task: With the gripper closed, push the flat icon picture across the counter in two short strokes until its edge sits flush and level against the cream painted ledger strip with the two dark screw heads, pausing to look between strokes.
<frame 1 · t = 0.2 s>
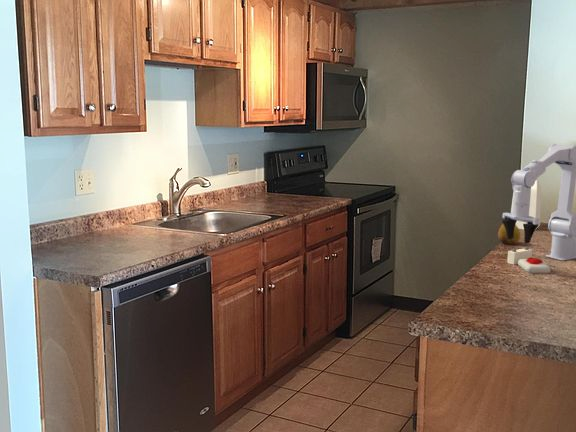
hand: (518, 240, 232), 10 cm above the counter, tool pointing down, fingers open, 7 cm apart
ledger strip: (519, 262, 242), on the counter
milk: (524, 227, 310), on the counter
icon: (535, 270, 232), on the counter
fruit: (508, 243, 274), on the counter
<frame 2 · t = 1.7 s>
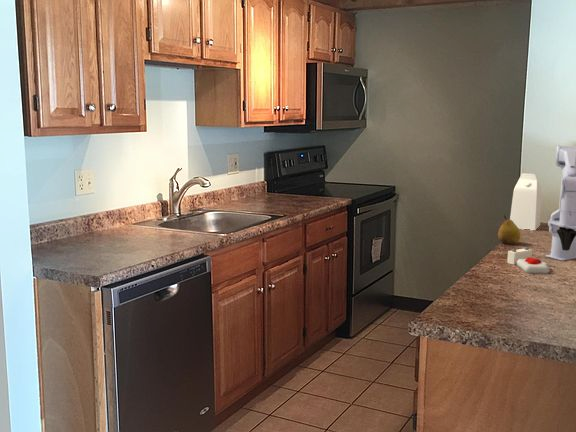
hand: (565, 249, 222), 9 cm above the counter, tool pointing down, fingers closed
nothing on the counter moved.
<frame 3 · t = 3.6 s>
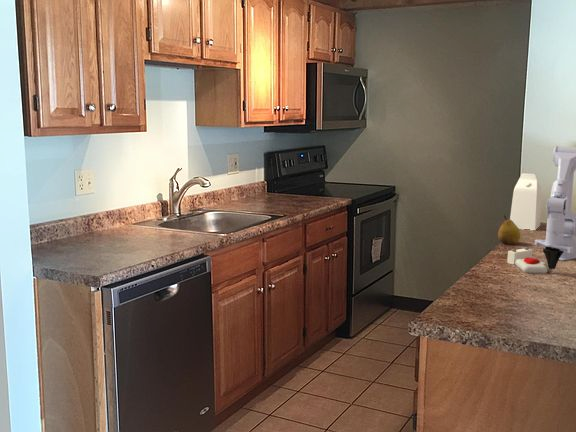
hand: (551, 268, 228), 1 cm above the counter, tool pointing down, fingers closed
nothing on the counter moved.
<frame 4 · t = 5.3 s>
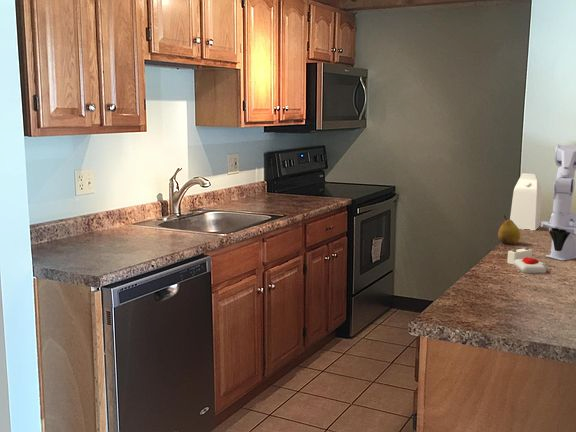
hand: (558, 250, 225), 8 cm above the counter, tool pointing down, fingers closed
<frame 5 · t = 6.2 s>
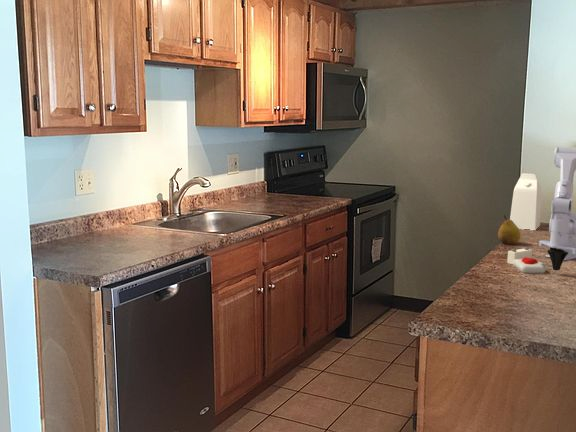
hand: (556, 269, 226), 1 cm above the counter, tool pointing down, fingers closed
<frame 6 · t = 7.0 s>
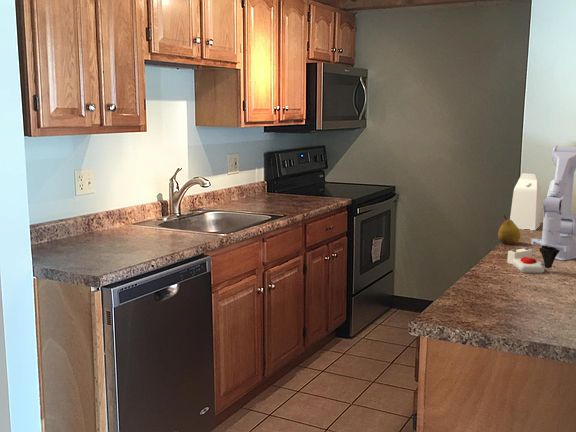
hand: (548, 267, 229), 1 cm above the counter, tool pointing down, fingers closed
icon: (529, 270, 232), on the counter, touching gripper, ledger strip
everything else where it was.
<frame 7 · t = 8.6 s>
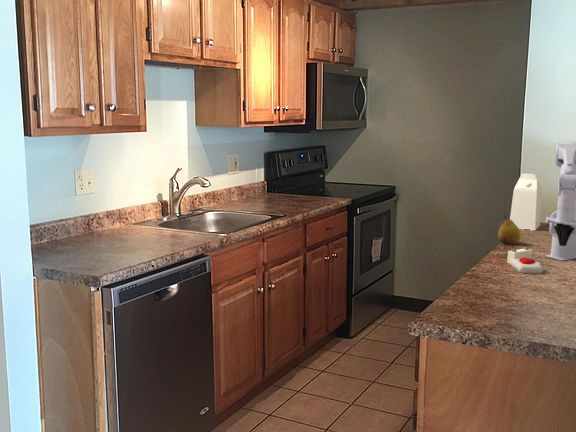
hand: (562, 245, 229), 9 cm above the counter, tool pointing down, fingers closed
icon: (528, 270, 232), on the counter
everything else where it was.
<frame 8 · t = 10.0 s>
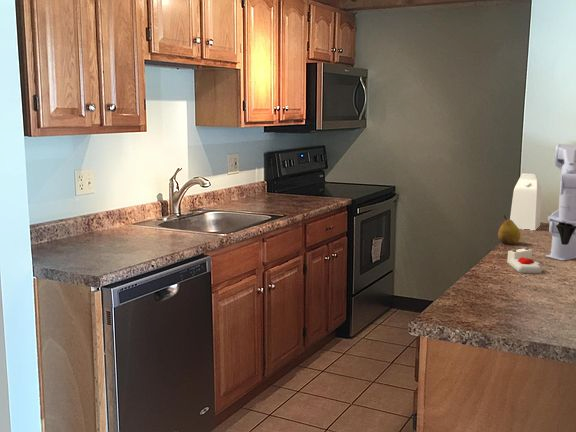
hand: (564, 244, 230), 9 cm above the counter, tool pointing down, fingers closed
nothing on the counter moved.
at the end: icon inside the target area (2.9 cm from its centre), on the counter; icon moved 3.3 cm from its start; icon tilted 0° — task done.
